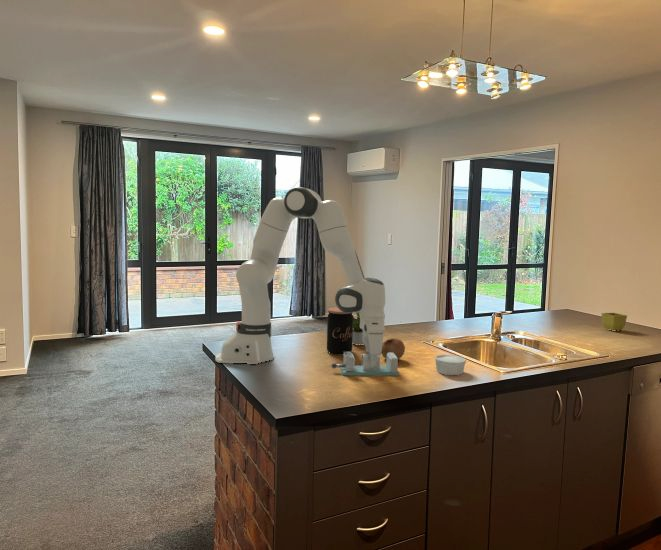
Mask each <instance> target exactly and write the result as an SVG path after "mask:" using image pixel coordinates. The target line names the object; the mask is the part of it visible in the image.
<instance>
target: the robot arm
mask: <svg viewBox="0 0 661 550" xmlns="http://www.w3.org/2000/svg"><path fill="white" fill-rule="evenodd" d="M296 218H298V219H303V220H304V219H307V220H311V219H312V220H314V221H313V222H315V225H316V228H317V231H318V235H319V241H320V243H321V246H322V247H323V250H324V251H325V252H327V253H328V254H329V255H332V256H333V257H335V258H336V259H337V260H338V261H339V262H340V263H341V265H342V267H343V270H344V272H345V275H346V278H347V281H348V285H347V286H344V287H342V288H339V290H337V292H336V294H335V296H334V301H335V302H334V303H335V306H336V307H338V308H339V309H340V310H341V311H343V312H347V313H351V312H353V313H356V311H357V312H359V315H360V328H361V329H363V338H362V339H363V343H364V345H363V346H364V348H365V354H371V359H370V364H371V365H376V359H377V355H379V356H381V355H382V353H381V352H382V344H383V342H384V334H385V333H386V328H385V316H386V315H385V305H386V289H385V284H384V282H383V281H382V280H381V279H378V278H373V277H365V275H364V272H363V269H362V266H361V263H360V261H359V257H358V255H357V251H356V249H355V246H354V243H353V240H352V238H351V237H352V236H351V233H350V230H349V225H348V221H347V219H346V216H345V213H344V211H343V209H342V206H341V205H340V203H339V202H338V201H336V200H333V199H327V200H323V198H322V196H321V195H320V193H318V192H316V191H314V190H312V189H311V188H307V187H302V186H296V187H293V188H290V189H289V190H288V191H287V192H286V193H285V196H284V198H283V197H274V198H272V199H271V200H270V201H269V203H268V204H267V206H266V207H265V210H264V211H263V213H262V216H261V219H260V221H259V223H258V226H257V229H256V231H255V234H254V238H253V239H252V240H253V242H252V250H251V254H250V255H251V256H250V258H249V259H248V260H246V261H244V262H243V263H241V265H239V267H238V269H237V271H236V275H235V276H236V277H235V278H236V282H237V283H238V288H239V295H240V300H241V321H237V322H236V324H235V327H236V330H235V331H236V332H235V333H233V334H232V335H231V336H229V337H228V338H227V339H225V341H224V342H223V343H222V346H221V351H220V352H218V353H216V354H215V358H214V359H215V362H217V364H218V363H219V364H221V363H222V364H233V363H247V364H246V365H250V364H256V365H259V364H261V362H262V363H266V362H265V361H267V362H270V361H272V360H274V359H275V356H274V355H275V354H274V352H273V346H272V334H273V333H272V332H273V327H272V326H273V325H272V322H271V306H272V305H271V301H270V297H269V290H268V289H269V287H268V284H269V283H271V282H272V280H273V278H274V276H275V274H276V270H277V265H278V263H279V259H280V254H281V251H282V248H283V245H284V242H285V240H286V237H287V234H288V231H289V230H290V226H291V223H292V222H293V221H294V219H296ZM273 358H274V359H273ZM269 360H270V361H269ZM258 363H259V364H258Z"/></svg>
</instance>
